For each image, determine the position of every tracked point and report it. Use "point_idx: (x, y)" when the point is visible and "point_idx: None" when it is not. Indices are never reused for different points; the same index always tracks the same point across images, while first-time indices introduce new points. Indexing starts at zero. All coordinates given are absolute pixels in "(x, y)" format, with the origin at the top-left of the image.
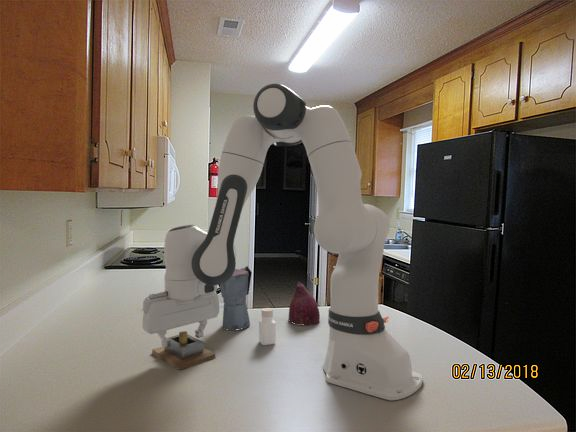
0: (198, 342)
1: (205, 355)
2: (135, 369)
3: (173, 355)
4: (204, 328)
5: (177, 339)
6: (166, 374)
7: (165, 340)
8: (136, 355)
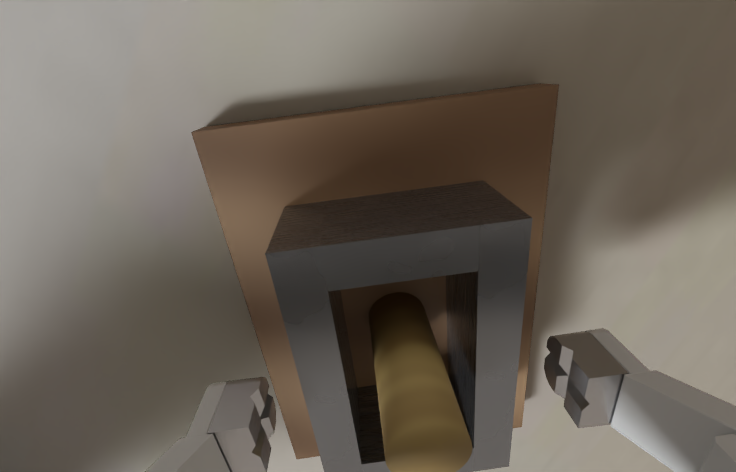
0: (318, 261)
1: (285, 152)
2: (698, 273)
3: None
4: (161, 458)
5: None
6: (644, 76)
7: (654, 376)
8: None
